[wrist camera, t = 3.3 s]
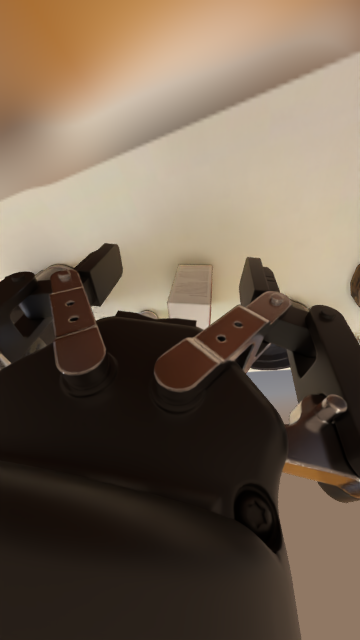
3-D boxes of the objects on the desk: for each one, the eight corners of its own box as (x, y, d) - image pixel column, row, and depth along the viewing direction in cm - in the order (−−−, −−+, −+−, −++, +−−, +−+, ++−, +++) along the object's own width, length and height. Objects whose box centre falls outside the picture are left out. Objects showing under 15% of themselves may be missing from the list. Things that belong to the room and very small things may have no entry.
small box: (210, 304, 38) (208, 348, 30) (180, 302, 38) (171, 345, 31) (213, 263, 32) (211, 304, 25) (178, 263, 33) (166, 302, 25)
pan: (220, 352, 46) (220, 364, 44) (234, 293, 35) (236, 305, 33) (294, 361, 45) (298, 374, 43) (333, 302, 34) (342, 316, 32)
